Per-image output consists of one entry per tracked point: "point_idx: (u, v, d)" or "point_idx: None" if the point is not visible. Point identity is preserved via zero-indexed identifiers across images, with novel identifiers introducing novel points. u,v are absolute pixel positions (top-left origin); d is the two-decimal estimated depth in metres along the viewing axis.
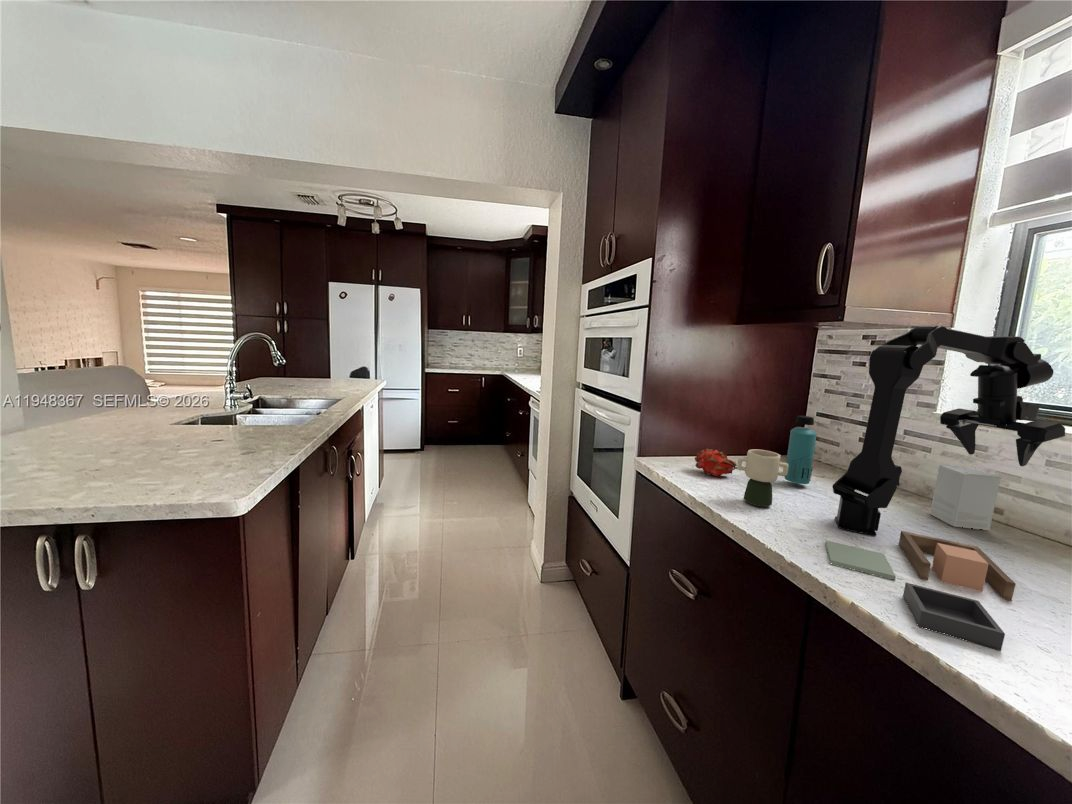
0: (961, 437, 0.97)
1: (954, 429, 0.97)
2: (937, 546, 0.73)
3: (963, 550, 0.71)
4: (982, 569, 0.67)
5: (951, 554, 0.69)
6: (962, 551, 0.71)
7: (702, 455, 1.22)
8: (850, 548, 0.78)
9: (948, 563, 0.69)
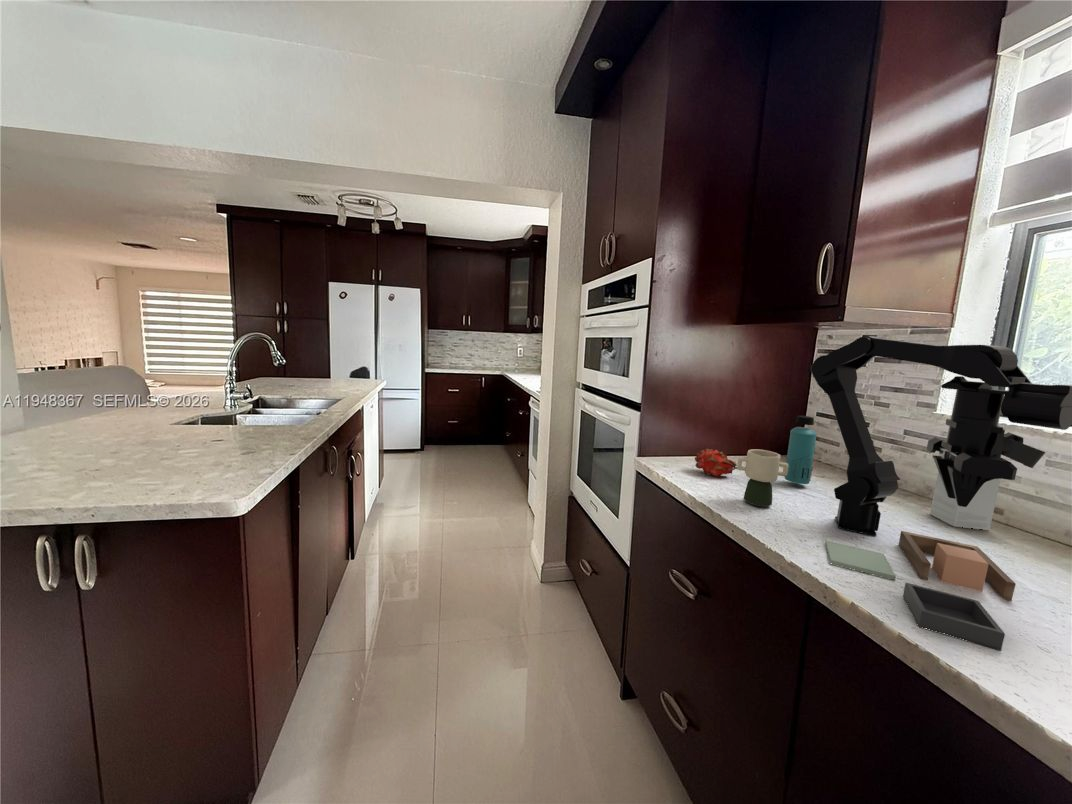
0: (940, 471, 0.77)
1: (935, 459, 0.78)
2: (937, 546, 0.73)
3: (963, 550, 0.71)
4: (982, 569, 0.67)
5: (951, 554, 0.69)
6: (962, 551, 0.71)
7: (702, 455, 1.22)
8: (850, 548, 0.78)
9: (948, 563, 0.69)
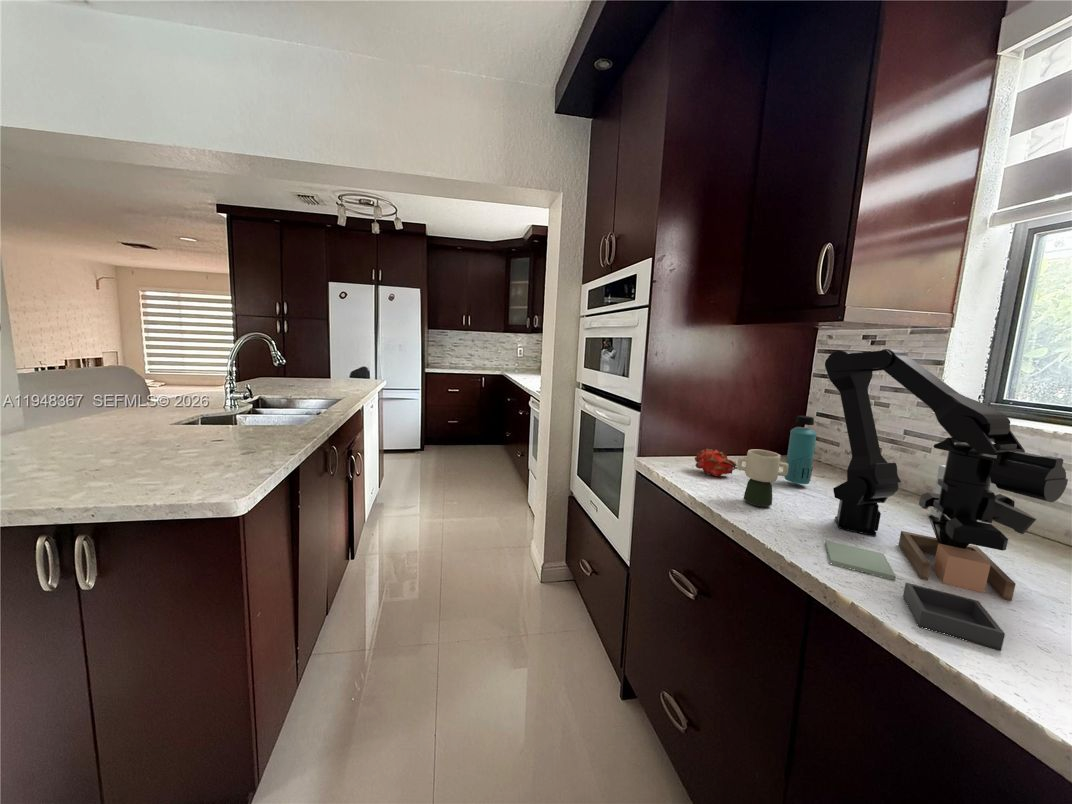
0: (936, 534, 0.75)
1: (931, 521, 0.76)
2: (938, 547, 0.72)
3: (965, 551, 0.70)
4: (984, 570, 0.67)
5: (953, 555, 0.69)
6: (964, 551, 0.70)
7: (702, 455, 1.21)
8: (850, 548, 0.78)
9: (950, 564, 0.69)
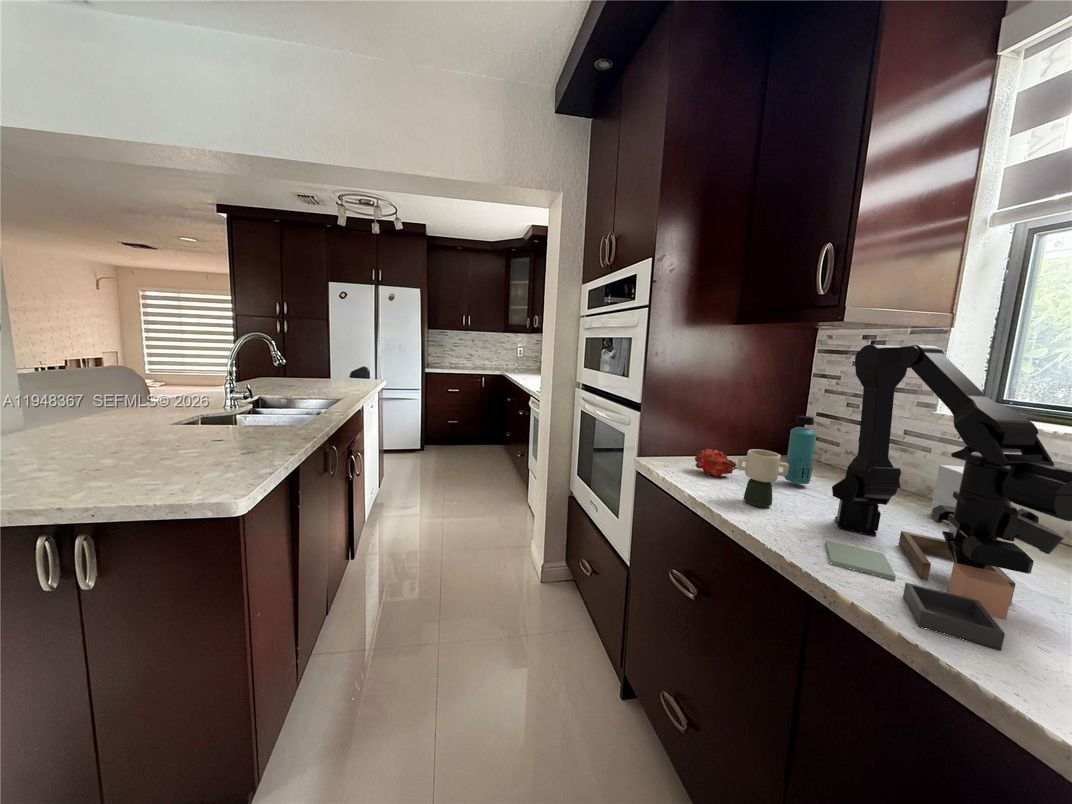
0: (950, 551, 0.69)
1: (945, 537, 0.69)
2: (954, 566, 0.66)
3: (984, 572, 0.64)
4: (1006, 594, 0.60)
5: (971, 576, 0.62)
6: (982, 572, 0.64)
7: (702, 455, 1.21)
8: (850, 548, 0.78)
9: (968, 587, 0.62)
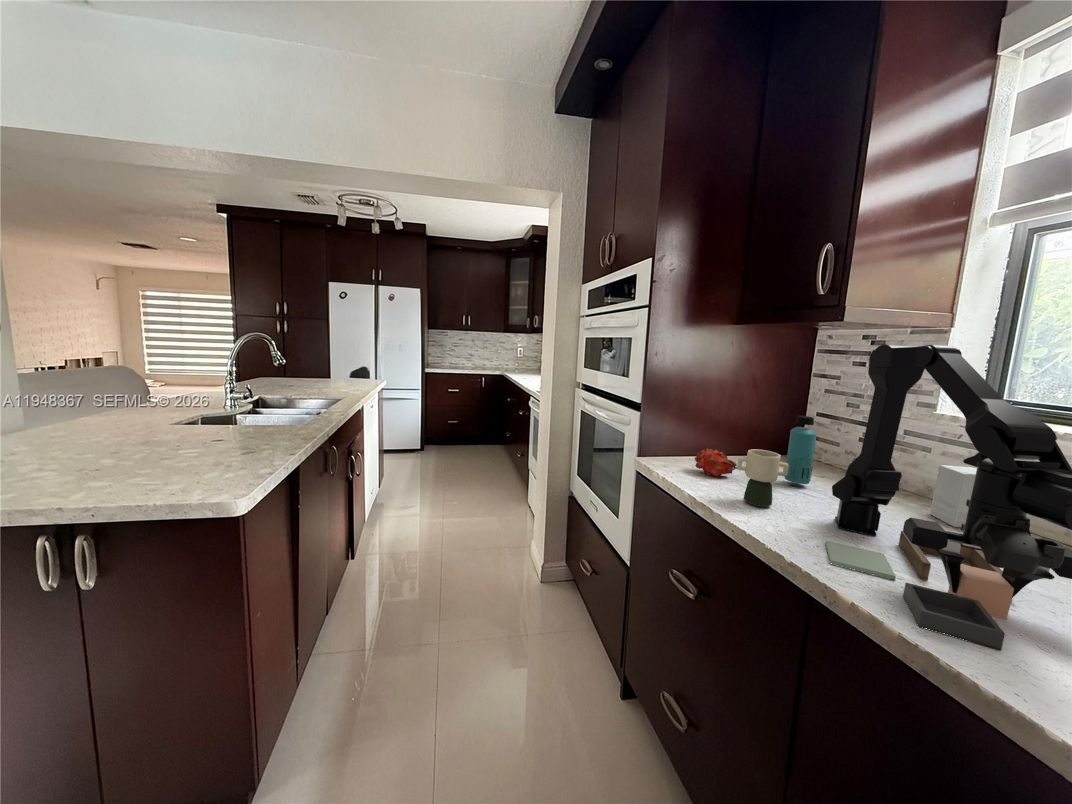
0: None
1: None
2: None
3: (984, 572, 0.64)
4: (1007, 594, 0.60)
5: (972, 577, 0.62)
6: (983, 573, 0.63)
7: (702, 455, 1.21)
8: (850, 548, 0.78)
9: (968, 587, 0.62)
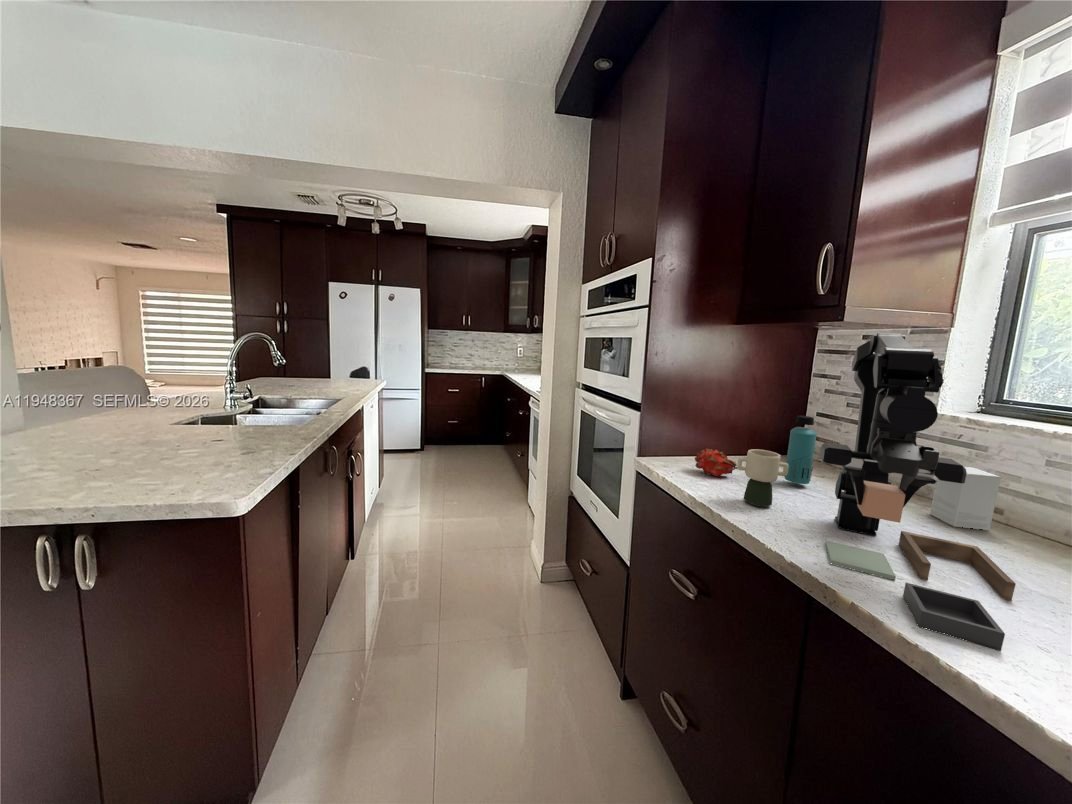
0: None
1: None
2: None
3: (885, 485, 0.72)
4: (900, 500, 0.69)
5: (872, 488, 0.71)
6: (883, 486, 0.72)
7: (702, 455, 1.21)
8: (850, 548, 0.78)
9: (869, 497, 0.71)
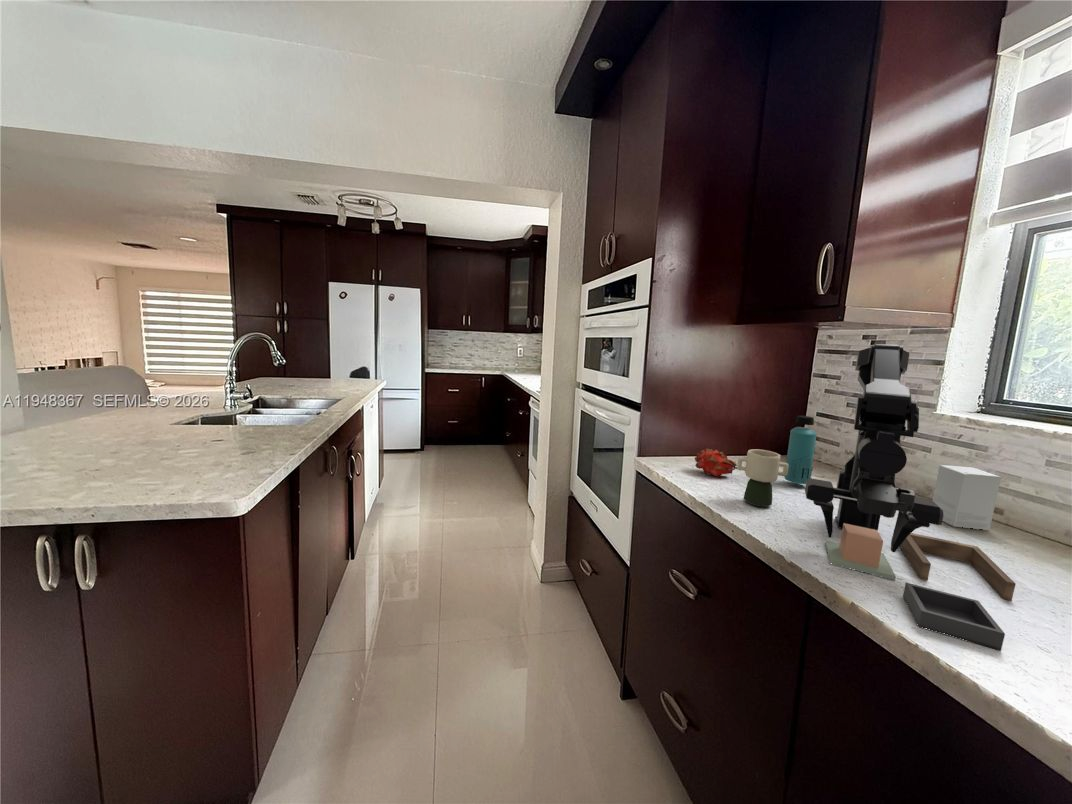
0: None
1: None
2: (843, 526, 0.77)
3: (865, 530, 0.75)
4: (878, 546, 0.71)
5: (852, 533, 0.74)
6: (864, 530, 0.75)
7: (702, 455, 1.21)
8: None
9: (849, 541, 0.73)
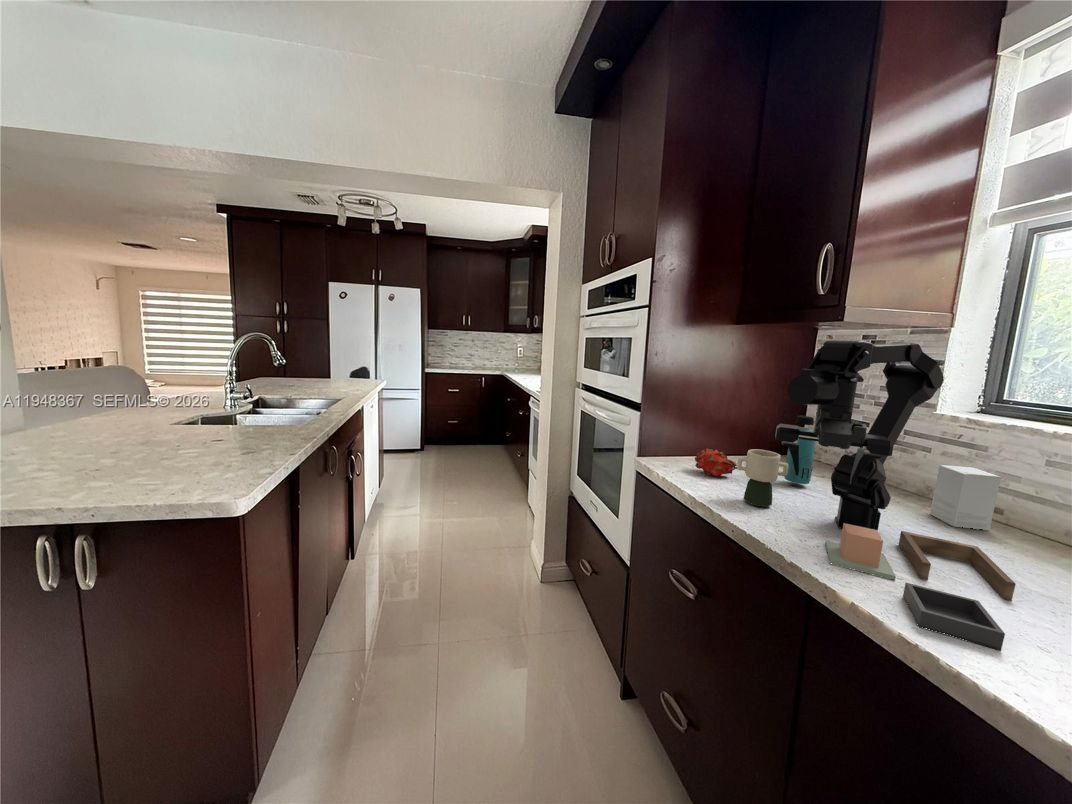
0: None
1: None
2: (843, 526, 0.77)
3: (865, 530, 0.75)
4: (878, 546, 0.71)
5: (852, 533, 0.74)
6: (864, 530, 0.75)
7: (702, 455, 1.21)
8: None
9: (849, 541, 0.73)
